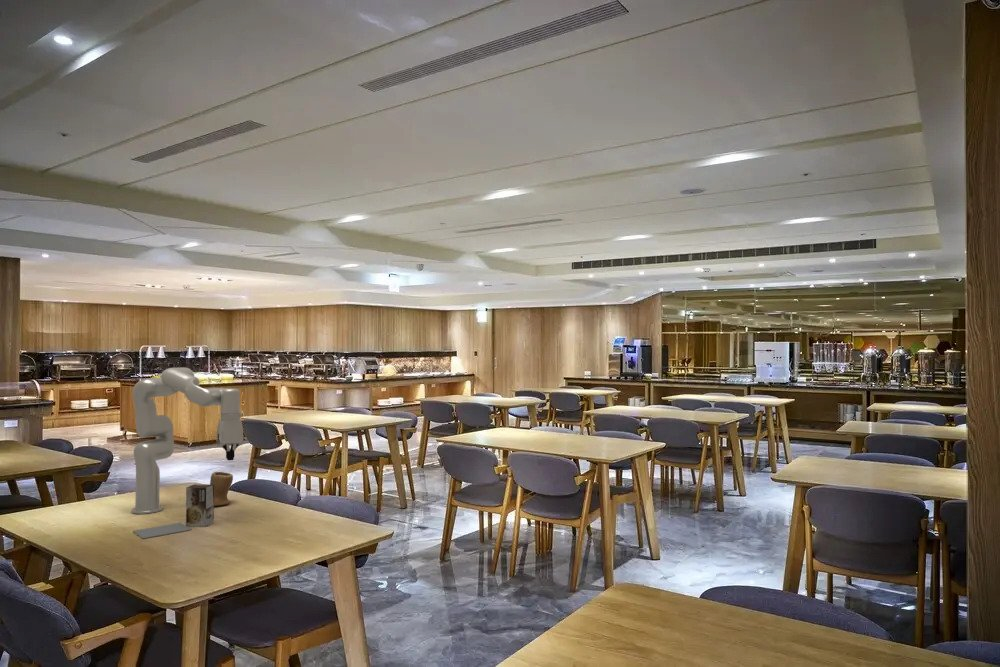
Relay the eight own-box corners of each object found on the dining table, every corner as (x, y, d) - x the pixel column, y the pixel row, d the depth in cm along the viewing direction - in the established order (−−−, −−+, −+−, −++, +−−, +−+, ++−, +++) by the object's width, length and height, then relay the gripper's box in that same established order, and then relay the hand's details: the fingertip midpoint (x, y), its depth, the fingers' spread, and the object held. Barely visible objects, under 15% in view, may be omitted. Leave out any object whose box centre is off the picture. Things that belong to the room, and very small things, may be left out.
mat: (132, 531, 260) (132, 530, 260) (180, 523, 272) (180, 522, 272) (142, 539, 250) (142, 538, 250) (192, 530, 262) (192, 529, 262)
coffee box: (214, 522, 274) (214, 484, 274) (206, 526, 267) (206, 487, 268) (193, 522, 275) (194, 483, 275) (185, 526, 268) (185, 486, 269)
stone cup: (236, 504, 306) (237, 472, 307) (211, 508, 298) (211, 476, 298) (222, 499, 317) (223, 468, 317) (198, 503, 308) (198, 471, 308)
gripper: (243, 415, 288) (243, 457, 288) (209, 418, 278) (209, 461, 277) (251, 416, 283) (250, 458, 282) (215, 419, 273) (215, 463, 272)
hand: (230, 459), depth 280 cm, fingers closed
